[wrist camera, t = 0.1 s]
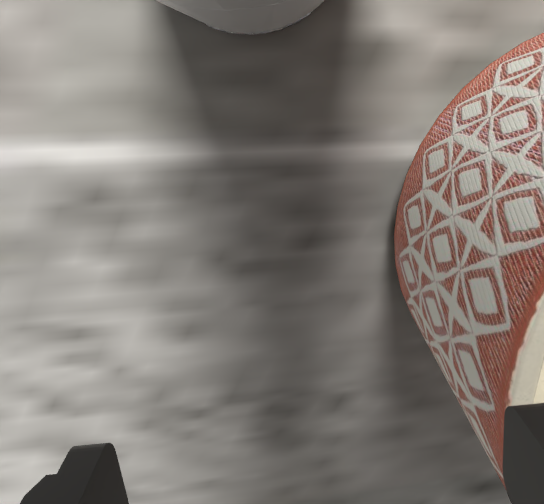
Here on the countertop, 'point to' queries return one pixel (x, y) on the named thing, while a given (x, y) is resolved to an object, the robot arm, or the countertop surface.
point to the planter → (481, 242)
